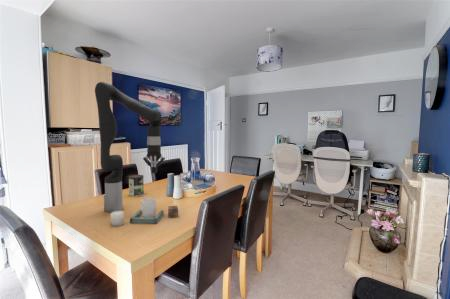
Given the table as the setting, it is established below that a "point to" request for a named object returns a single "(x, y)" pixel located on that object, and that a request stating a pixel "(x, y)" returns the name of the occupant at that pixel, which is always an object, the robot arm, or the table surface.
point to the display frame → (136, 218)
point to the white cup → (148, 207)
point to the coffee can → (136, 185)
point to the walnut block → (172, 211)
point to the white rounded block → (117, 218)
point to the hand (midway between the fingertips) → (154, 173)
